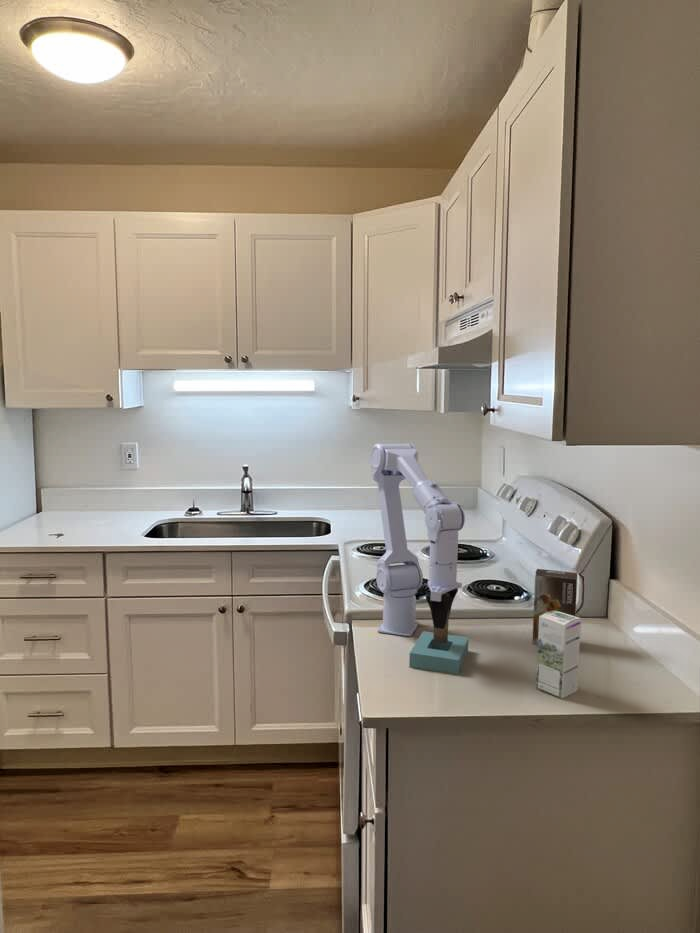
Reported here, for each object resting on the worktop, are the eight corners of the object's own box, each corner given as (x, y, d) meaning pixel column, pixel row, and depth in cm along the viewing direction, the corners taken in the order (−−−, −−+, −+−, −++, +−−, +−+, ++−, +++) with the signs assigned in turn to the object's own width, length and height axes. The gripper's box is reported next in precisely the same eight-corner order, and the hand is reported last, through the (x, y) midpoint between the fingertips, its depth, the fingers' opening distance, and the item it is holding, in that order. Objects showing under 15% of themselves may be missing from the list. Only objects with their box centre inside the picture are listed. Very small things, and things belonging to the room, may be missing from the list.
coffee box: (575, 640, 146) (579, 572, 144) (574, 651, 140) (578, 579, 138) (533, 634, 149) (537, 567, 148) (530, 644, 143) (534, 574, 142)
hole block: (422, 644, 142) (423, 631, 142) (467, 650, 139) (468, 637, 139) (409, 667, 130) (409, 652, 130) (458, 674, 127) (459, 660, 126)
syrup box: (578, 691, 121) (582, 616, 119) (561, 700, 117) (565, 623, 115) (551, 680, 125) (555, 608, 123) (534, 689, 121) (538, 615, 120)
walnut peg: (434, 637, 136) (436, 591, 135) (448, 639, 135) (450, 593, 134) (432, 642, 133) (433, 595, 132) (446, 644, 132) (448, 597, 131)
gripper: (456, 572, 124) (454, 639, 126) (467, 555, 138) (465, 616, 139) (421, 568, 126) (419, 634, 128) (435, 552, 140) (433, 612, 141)
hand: (440, 624), depth 134 cm, fingers closed on walnut peg, 3 cm apart
